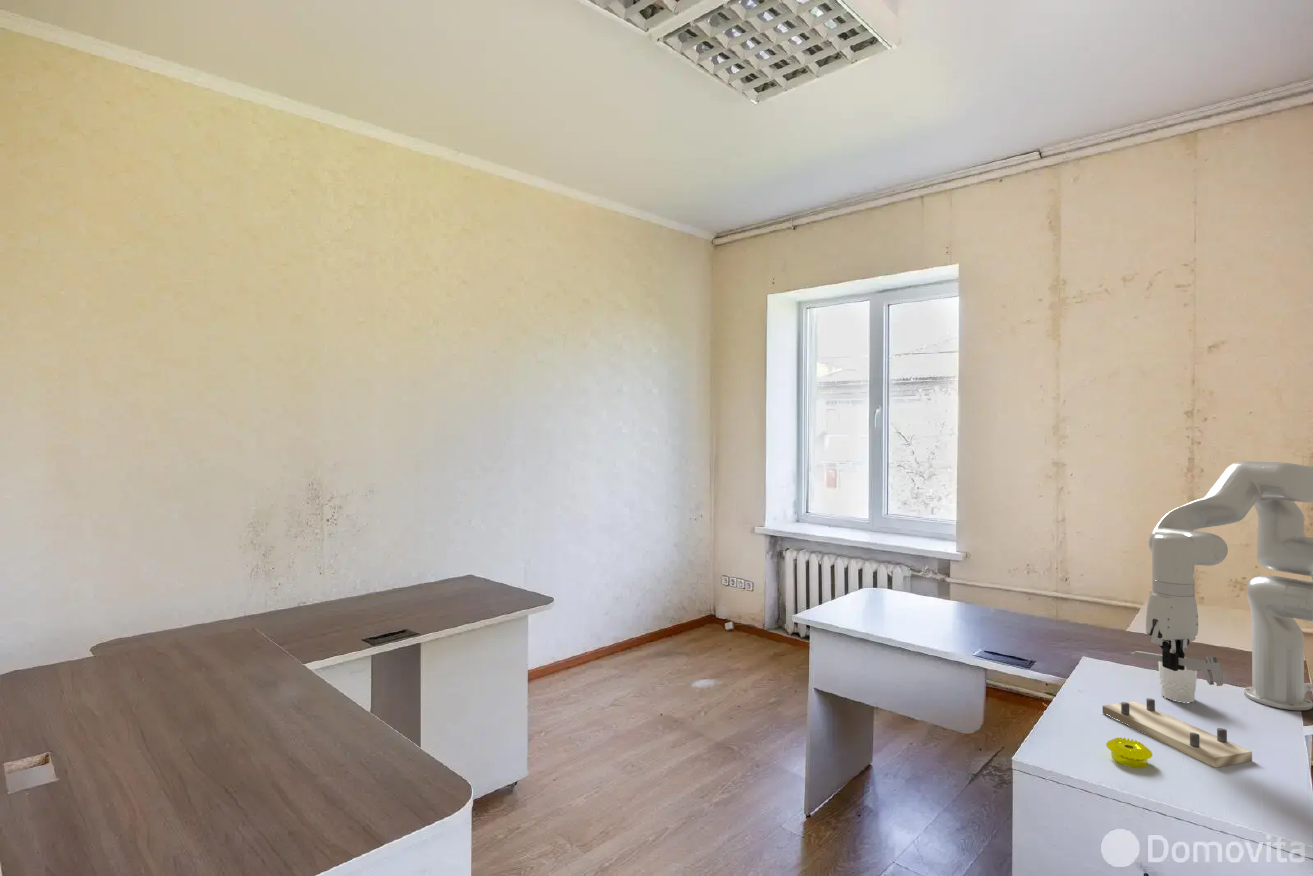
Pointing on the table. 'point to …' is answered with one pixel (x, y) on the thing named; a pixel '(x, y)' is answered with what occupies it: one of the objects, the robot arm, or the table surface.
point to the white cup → (1177, 684)
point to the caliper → (1192, 665)
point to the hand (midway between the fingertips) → (1173, 668)
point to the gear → (1129, 752)
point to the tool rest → (1179, 733)
